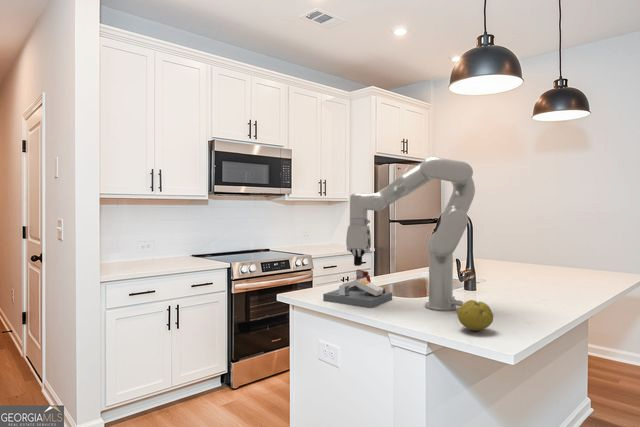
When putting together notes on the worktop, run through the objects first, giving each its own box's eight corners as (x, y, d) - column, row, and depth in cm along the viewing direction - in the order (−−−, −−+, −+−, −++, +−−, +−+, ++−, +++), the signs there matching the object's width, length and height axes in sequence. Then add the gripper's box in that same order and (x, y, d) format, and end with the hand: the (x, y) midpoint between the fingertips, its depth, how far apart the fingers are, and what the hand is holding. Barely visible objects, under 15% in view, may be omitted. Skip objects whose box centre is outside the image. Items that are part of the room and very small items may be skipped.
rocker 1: (367, 282, 195) (366, 276, 196) (361, 284, 190) (359, 278, 191) (349, 286, 201) (348, 281, 201) (343, 288, 196) (341, 283, 196)
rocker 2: (382, 293, 185) (383, 288, 184) (376, 296, 180) (377, 290, 179) (362, 284, 190) (364, 279, 189) (356, 286, 185) (358, 281, 184)
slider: (349, 294, 185) (349, 285, 185) (344, 295, 181) (344, 286, 181) (343, 293, 186) (343, 284, 186) (339, 294, 183) (339, 285, 183)
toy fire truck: (363, 294, 200) (363, 272, 200) (351, 289, 211) (351, 269, 211) (375, 293, 203) (375, 271, 202) (363, 288, 214) (363, 268, 214)
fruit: (451, 326, 147) (451, 297, 147) (484, 325, 147) (484, 297, 147) (463, 336, 136) (464, 305, 136) (499, 335, 136) (499, 304, 136)
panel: (392, 299, 190) (392, 288, 190) (371, 308, 173) (372, 296, 173) (346, 293, 203) (346, 283, 203) (323, 300, 186) (323, 289, 186)
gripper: (378, 222, 178) (377, 265, 179) (347, 221, 187) (347, 263, 187) (370, 223, 172) (369, 268, 173) (338, 222, 181) (338, 264, 181)
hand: (357, 265), depth 180 cm, fingers closed
